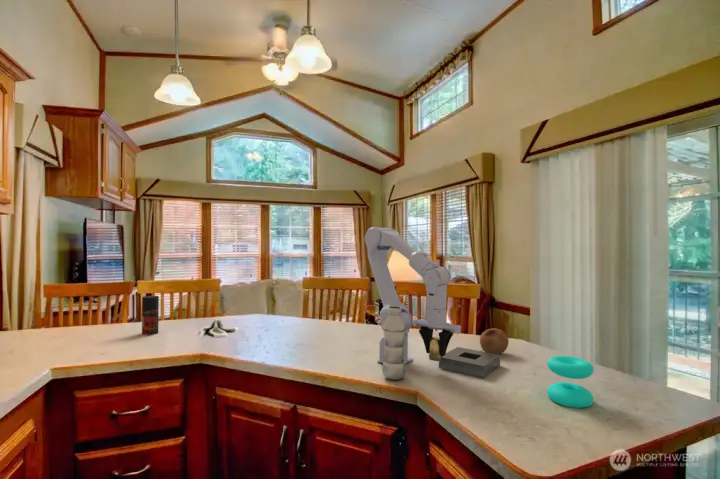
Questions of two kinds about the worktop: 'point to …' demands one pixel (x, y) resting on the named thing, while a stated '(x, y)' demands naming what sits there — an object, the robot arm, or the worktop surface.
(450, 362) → the block
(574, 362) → the donuts
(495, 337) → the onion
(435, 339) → the bushing
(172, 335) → the worktop surface
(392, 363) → the plastic bottle
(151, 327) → the deodorant
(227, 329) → the cloth
